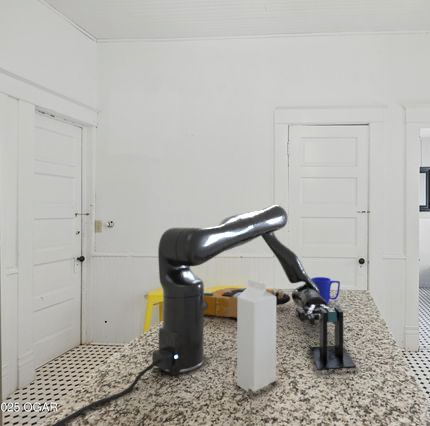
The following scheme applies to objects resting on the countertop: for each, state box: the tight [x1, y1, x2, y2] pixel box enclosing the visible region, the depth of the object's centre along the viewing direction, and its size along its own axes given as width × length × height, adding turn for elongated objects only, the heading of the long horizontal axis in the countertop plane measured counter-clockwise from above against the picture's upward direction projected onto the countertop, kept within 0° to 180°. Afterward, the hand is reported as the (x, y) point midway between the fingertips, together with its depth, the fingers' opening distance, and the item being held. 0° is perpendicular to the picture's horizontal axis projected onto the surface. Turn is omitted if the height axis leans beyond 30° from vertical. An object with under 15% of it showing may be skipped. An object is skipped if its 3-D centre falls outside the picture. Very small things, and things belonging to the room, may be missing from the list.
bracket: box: [309, 306, 357, 371], centre depth 77 cm, size 12×9×13 cm
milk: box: [236, 279, 277, 393], centre depth 66 cm, size 6×6×22 cm
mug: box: [310, 276, 341, 304], centre depth 128 cm, size 8×12×10 cm
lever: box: [313, 312, 337, 323], centre depth 82 cm, size 13×6×2 cm, turn 9°
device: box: [204, 287, 291, 319], centre depth 117 cm, size 23×8×30 cm
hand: (324, 321), depth 85 cm, fingers closed on lever, 5 cm apart
